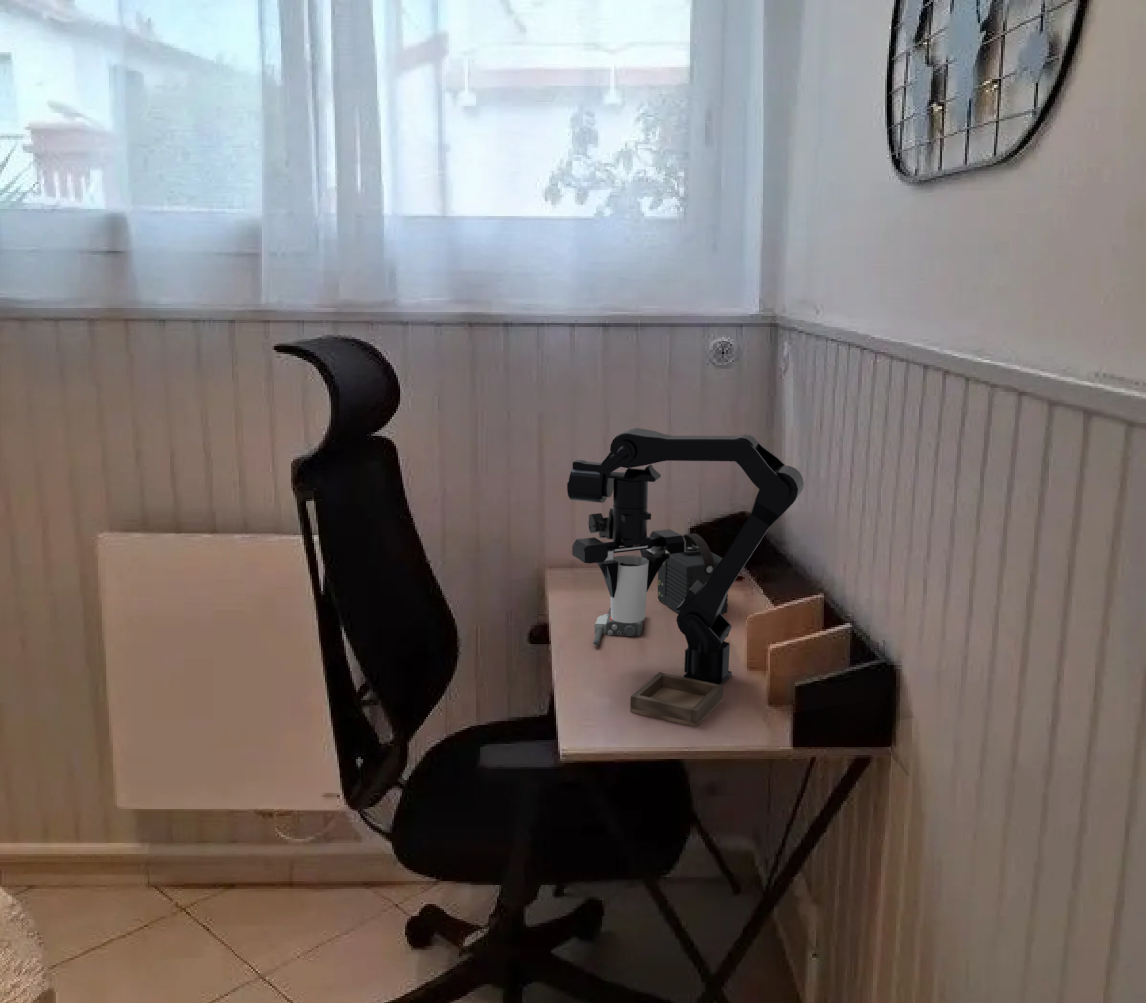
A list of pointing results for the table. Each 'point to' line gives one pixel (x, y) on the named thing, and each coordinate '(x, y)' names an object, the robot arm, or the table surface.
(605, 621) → the walkie-talkie
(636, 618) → the white cup
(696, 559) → the camera
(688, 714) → the frame
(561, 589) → the table surface
